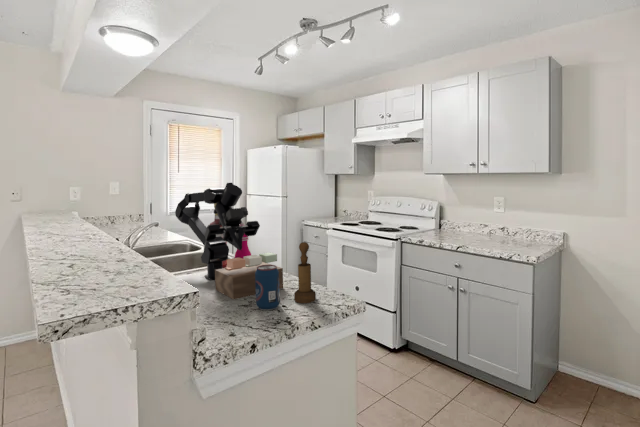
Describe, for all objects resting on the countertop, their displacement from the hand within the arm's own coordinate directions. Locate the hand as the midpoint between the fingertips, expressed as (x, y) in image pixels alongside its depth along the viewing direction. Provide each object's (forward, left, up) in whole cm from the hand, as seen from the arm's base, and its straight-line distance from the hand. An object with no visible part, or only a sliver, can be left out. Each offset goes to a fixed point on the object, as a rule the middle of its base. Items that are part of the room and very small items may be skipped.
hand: (240, 249), depth 126 cm
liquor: (-35, +7, -14) cm, 39 cm away
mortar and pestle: (+24, +9, -14) cm, 29 cm away
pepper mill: (-27, +14, -14) cm, 34 cm away
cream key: (+5, +2, -4) cm, 7 cm away
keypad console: (+2, +2, -14) cm, 14 cm away
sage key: (+5, +8, -4) cm, 10 cm away
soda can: (+22, -3, -14) cm, 26 cm away
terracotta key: (+5, -4, -4) cm, 8 cm away
